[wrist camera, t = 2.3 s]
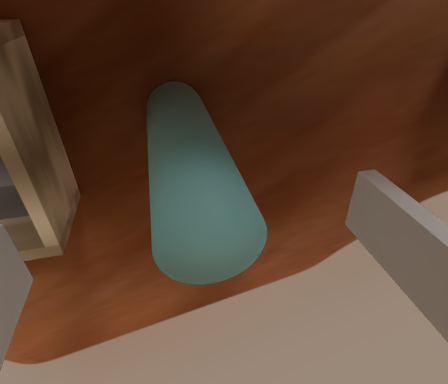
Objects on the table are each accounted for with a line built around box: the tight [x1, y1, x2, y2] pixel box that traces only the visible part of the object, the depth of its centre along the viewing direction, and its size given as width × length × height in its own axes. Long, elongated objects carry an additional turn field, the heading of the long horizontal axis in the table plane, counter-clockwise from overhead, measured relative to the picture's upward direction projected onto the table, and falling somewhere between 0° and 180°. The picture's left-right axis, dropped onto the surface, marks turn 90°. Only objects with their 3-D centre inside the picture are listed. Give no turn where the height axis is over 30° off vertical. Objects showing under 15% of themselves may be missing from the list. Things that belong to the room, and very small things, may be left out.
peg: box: [146, 81, 267, 285], centre depth 16 cm, size 4×4×14 cm
